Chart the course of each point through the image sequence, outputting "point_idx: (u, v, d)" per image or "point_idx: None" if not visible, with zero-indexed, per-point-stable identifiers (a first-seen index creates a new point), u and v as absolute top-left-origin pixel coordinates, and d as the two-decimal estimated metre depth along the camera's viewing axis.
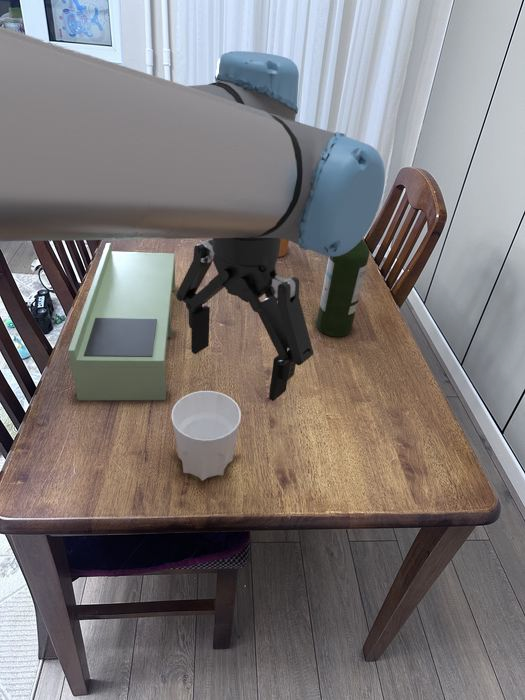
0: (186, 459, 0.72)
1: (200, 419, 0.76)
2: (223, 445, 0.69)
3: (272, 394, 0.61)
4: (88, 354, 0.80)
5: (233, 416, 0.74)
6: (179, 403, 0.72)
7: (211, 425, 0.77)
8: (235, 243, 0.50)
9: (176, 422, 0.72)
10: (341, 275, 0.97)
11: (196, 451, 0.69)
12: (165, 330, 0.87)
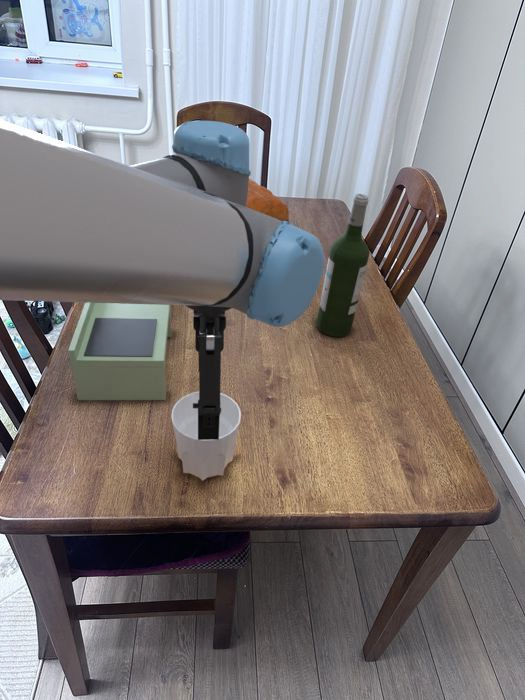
0: (186, 459, 0.72)
1: None
2: (223, 445, 0.69)
3: (198, 433, 0.63)
4: (88, 354, 0.80)
5: (233, 416, 0.74)
6: (179, 403, 0.72)
7: None
8: None
9: (176, 422, 0.72)
10: (341, 275, 0.97)
11: (196, 451, 0.69)
12: (165, 330, 0.87)
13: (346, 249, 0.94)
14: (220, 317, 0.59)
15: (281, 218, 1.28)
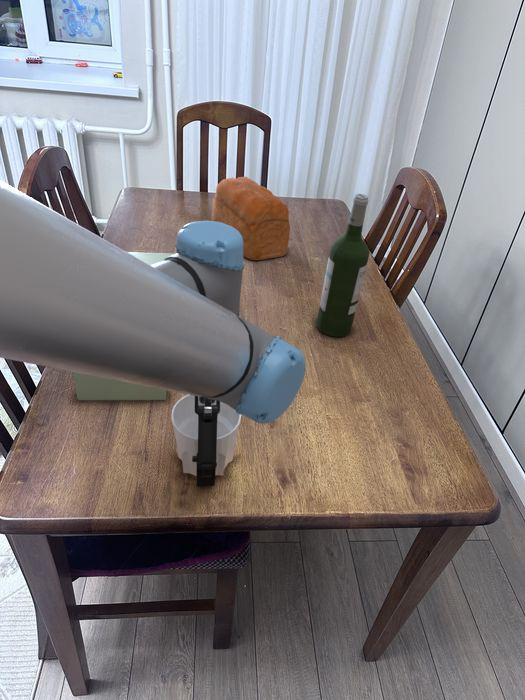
0: (186, 459, 0.72)
1: None
2: (223, 445, 0.69)
3: None
4: None
5: (233, 416, 0.74)
6: (179, 403, 0.72)
7: None
8: None
9: (176, 422, 0.72)
10: (341, 275, 0.97)
11: (196, 451, 0.69)
12: None
13: (346, 249, 0.94)
14: None
15: (281, 218, 1.28)
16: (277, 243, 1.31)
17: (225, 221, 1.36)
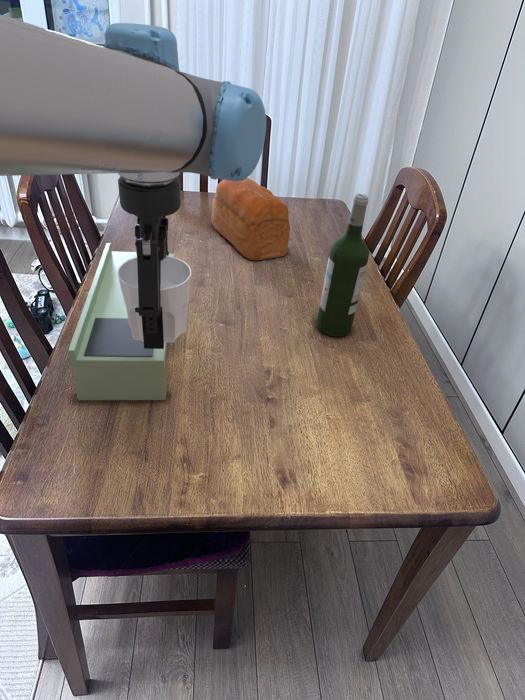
0: (134, 321, 0.69)
1: None
2: (171, 300, 0.66)
3: None
4: (88, 354, 0.80)
5: (186, 280, 0.70)
6: (128, 263, 0.69)
7: None
8: (119, 187, 0.59)
9: (124, 282, 0.69)
10: (341, 275, 0.97)
11: None
12: None
13: (346, 249, 0.94)
14: (161, 226, 0.62)
15: (281, 218, 1.28)
16: (277, 243, 1.31)
17: (225, 221, 1.36)
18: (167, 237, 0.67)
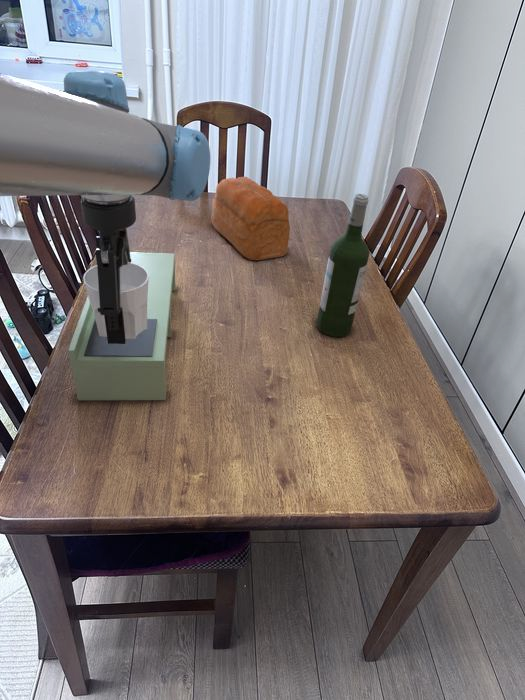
0: (99, 319, 0.79)
1: None
2: (130, 301, 0.76)
3: None
4: (88, 354, 0.80)
5: None
6: (93, 269, 0.79)
7: None
8: (81, 205, 0.69)
9: (90, 285, 0.79)
10: (341, 275, 0.97)
11: None
12: (165, 330, 0.87)
13: (346, 249, 0.94)
14: (119, 238, 0.72)
15: (281, 218, 1.28)
16: (277, 243, 1.31)
17: (225, 221, 1.36)
18: (127, 246, 0.77)
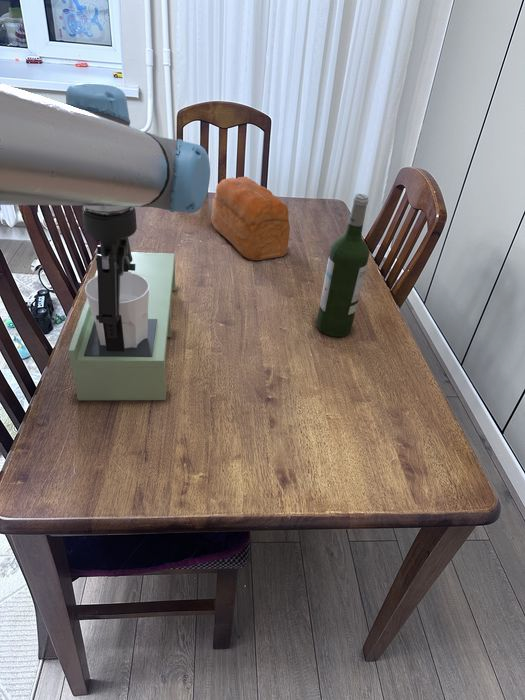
0: (100, 329, 0.80)
1: None
2: (130, 312, 0.77)
3: (106, 345, 0.77)
4: (88, 354, 0.80)
5: None
6: (95, 279, 0.80)
7: None
8: (82, 215, 0.70)
9: (91, 295, 0.80)
10: (341, 275, 0.97)
11: None
12: (165, 330, 0.87)
13: (346, 249, 0.94)
14: (120, 247, 0.73)
15: (281, 218, 1.28)
16: (277, 243, 1.31)
17: (225, 221, 1.36)
18: (128, 252, 0.79)
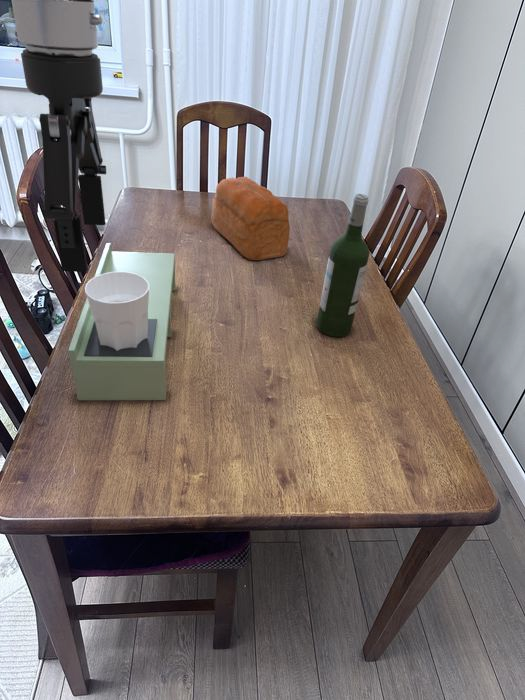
0: (100, 329, 0.80)
1: (118, 299, 0.84)
2: (130, 312, 0.77)
3: (61, 262, 0.55)
4: (88, 354, 0.80)
5: None
6: (95, 279, 0.80)
7: None
8: (22, 60, 0.48)
9: (91, 295, 0.80)
10: (341, 275, 0.97)
11: (106, 316, 0.77)
12: (165, 330, 0.87)
13: (346, 249, 0.94)
14: (78, 116, 0.51)
15: (281, 218, 1.28)
16: (276, 243, 1.31)
17: (225, 221, 1.36)
18: (93, 136, 0.57)
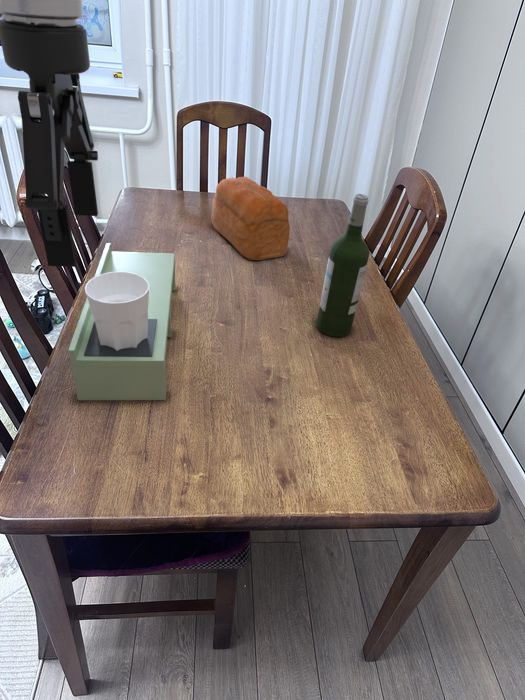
0: (100, 329, 0.80)
1: (118, 299, 0.84)
2: (130, 312, 0.77)
3: None
4: (88, 354, 0.80)
5: None
6: (95, 279, 0.80)
7: None
8: None
9: (91, 295, 0.80)
10: (341, 275, 0.97)
11: (106, 316, 0.77)
12: (165, 330, 0.87)
13: (346, 249, 0.94)
14: (63, 94, 0.47)
15: (281, 218, 1.28)
16: (276, 243, 1.31)
17: (225, 221, 1.36)
18: (81, 118, 0.52)
